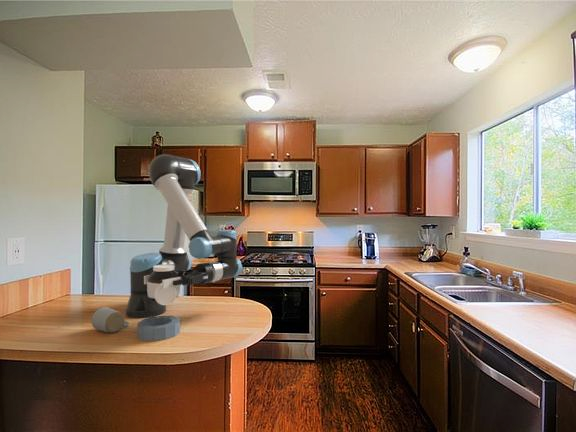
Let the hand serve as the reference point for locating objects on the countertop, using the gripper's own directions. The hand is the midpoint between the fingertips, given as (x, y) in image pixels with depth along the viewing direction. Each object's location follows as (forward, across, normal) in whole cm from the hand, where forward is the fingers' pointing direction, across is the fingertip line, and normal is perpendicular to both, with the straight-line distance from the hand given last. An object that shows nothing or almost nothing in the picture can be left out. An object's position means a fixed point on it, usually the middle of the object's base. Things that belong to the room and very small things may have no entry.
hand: (153, 282), depth 108 cm
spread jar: (-4, -1, -7) cm, 8 cm away
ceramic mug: (+5, +18, -18) cm, 26 cm away
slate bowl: (-3, +1, -18) cm, 18 cm away
